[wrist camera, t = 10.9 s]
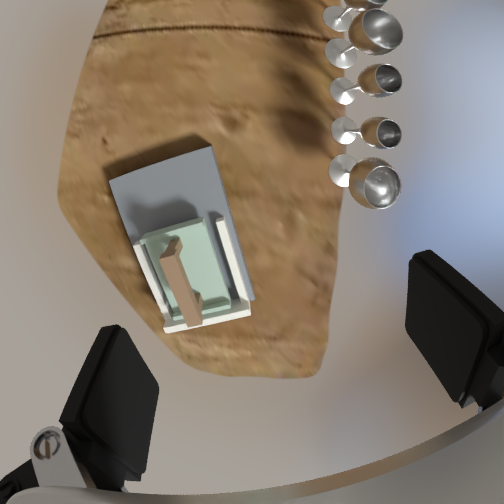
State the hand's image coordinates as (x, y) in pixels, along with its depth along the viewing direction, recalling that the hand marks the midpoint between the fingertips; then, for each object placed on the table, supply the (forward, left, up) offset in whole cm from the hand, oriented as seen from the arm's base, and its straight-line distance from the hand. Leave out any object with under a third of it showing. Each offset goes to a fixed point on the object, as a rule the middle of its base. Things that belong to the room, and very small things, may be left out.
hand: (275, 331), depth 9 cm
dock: (+6, -10, -33) cm, 35 cm away
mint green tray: (+9, -10, -30) cm, 33 cm away
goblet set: (-8, +16, -33) cm, 38 cm away
